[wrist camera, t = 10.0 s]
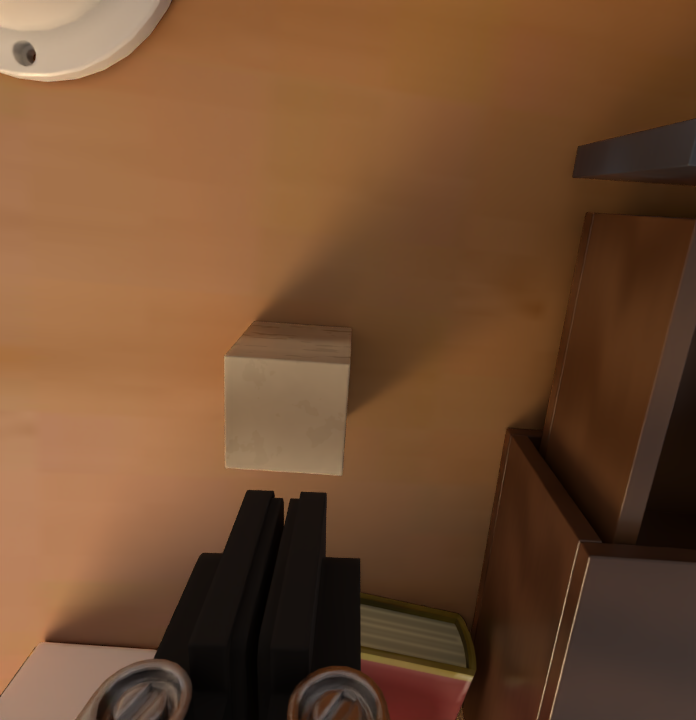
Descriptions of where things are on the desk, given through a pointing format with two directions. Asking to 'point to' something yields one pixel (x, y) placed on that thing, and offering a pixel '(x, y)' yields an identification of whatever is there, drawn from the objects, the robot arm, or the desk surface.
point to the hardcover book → (416, 657)
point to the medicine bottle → (63, 679)
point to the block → (287, 398)
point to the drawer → (631, 354)
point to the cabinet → (576, 611)
